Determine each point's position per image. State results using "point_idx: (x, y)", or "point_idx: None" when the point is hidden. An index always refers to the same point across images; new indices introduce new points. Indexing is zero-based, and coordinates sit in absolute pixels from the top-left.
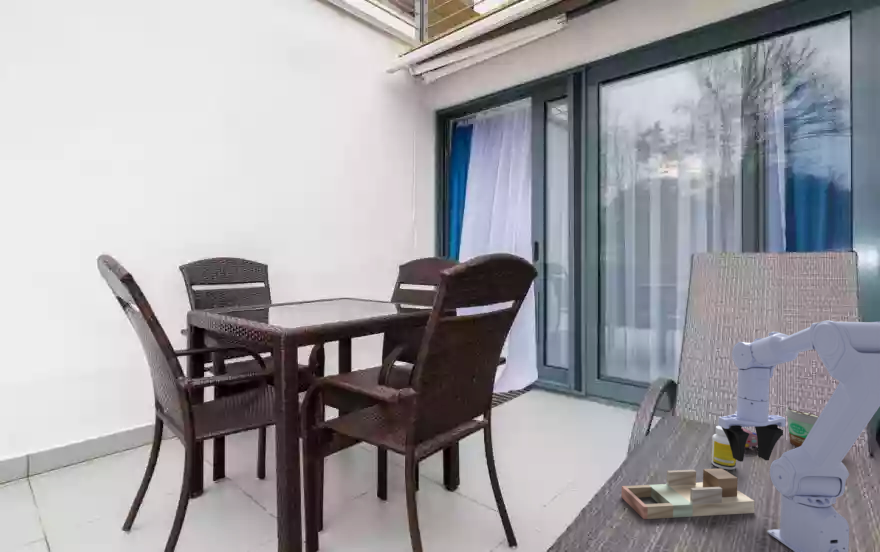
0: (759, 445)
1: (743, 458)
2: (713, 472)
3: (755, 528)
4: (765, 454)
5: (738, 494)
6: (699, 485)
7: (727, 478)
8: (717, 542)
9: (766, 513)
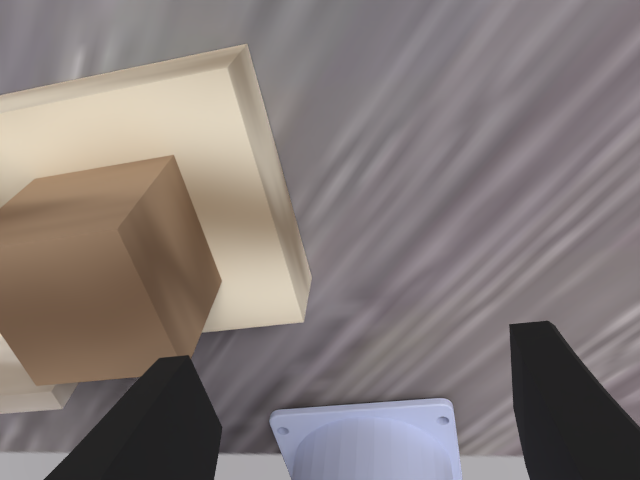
0: (557, 458)
1: (214, 465)
2: (22, 301)
3: (241, 380)
4: (529, 457)
5: (243, 259)
6: (16, 156)
7: (105, 378)
8: (56, 445)
9: (380, 276)
